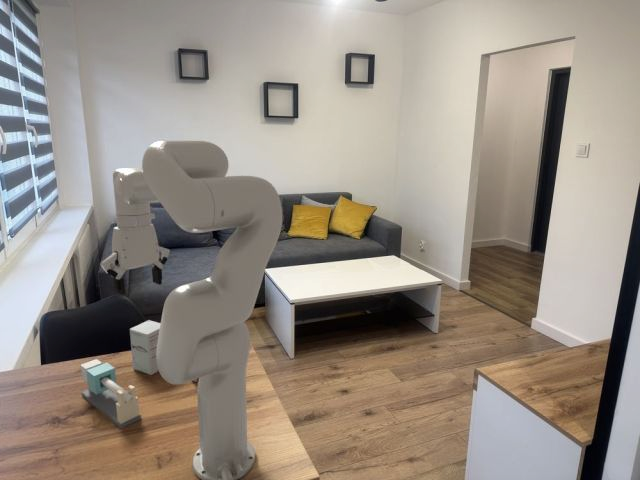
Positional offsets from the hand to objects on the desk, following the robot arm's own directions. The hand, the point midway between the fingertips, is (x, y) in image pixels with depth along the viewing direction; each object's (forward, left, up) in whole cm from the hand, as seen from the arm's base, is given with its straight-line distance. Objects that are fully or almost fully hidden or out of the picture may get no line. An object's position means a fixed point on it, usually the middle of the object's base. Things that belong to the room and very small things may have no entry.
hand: (139, 288), depth 109 cm
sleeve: (-1, +10, -24) cm, 26 cm away
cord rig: (-4, +9, -28) cm, 30 cm away
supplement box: (+12, -2, -28) cm, 31 cm away
